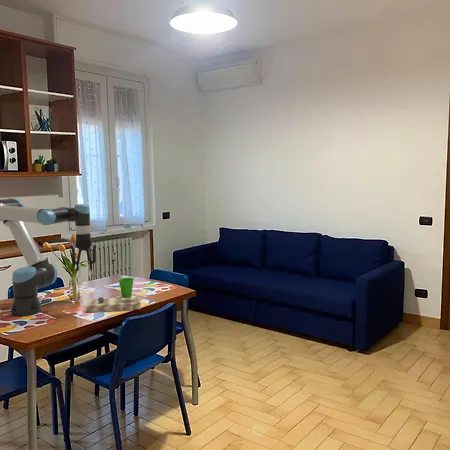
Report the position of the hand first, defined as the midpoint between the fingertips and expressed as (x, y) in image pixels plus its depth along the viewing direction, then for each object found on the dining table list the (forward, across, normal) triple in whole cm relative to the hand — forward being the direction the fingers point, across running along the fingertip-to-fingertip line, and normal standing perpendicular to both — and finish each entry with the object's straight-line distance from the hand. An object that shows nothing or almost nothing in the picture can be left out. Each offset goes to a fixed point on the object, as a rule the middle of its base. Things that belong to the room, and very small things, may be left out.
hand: (84, 276), depth 250 cm
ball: (+14, +8, 0) cm, 16 cm away
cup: (+19, +21, +20) cm, 35 cm away
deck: (+19, +15, +1) cm, 24 cm away
